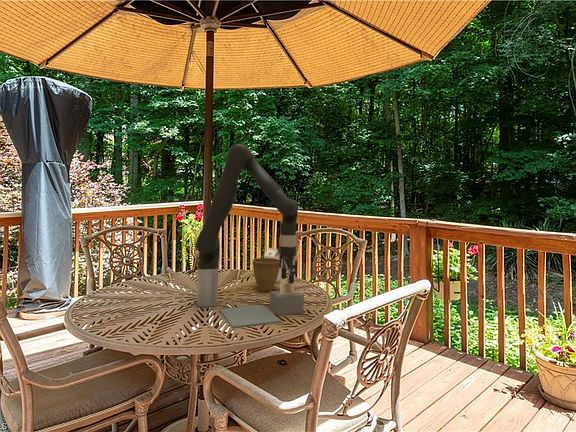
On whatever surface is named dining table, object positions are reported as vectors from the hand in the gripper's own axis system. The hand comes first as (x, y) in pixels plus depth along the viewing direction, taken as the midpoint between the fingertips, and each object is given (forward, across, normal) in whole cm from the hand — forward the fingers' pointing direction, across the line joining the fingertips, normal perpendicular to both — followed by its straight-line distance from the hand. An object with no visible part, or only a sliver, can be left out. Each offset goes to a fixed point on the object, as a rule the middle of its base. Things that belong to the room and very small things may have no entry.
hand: (287, 280), depth 180 cm
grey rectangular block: (+14, 0, 0) cm, 14 cm away
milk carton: (+14, -52, +13) cm, 55 cm away
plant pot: (+14, -35, +3) cm, 38 cm away
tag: (+12, 0, 0) cm, 12 cm away
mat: (+13, +2, -18) cm, 23 cm away
